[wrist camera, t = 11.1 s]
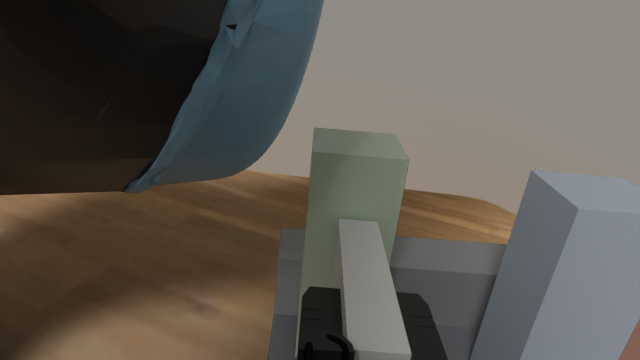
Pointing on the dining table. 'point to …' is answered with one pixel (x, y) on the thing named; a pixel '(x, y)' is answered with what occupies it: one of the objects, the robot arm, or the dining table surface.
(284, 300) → the dark grey block holder
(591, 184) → the blue-grey upright block
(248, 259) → the dining table surface
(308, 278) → the green rectangular block
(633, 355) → the salmon pink block
